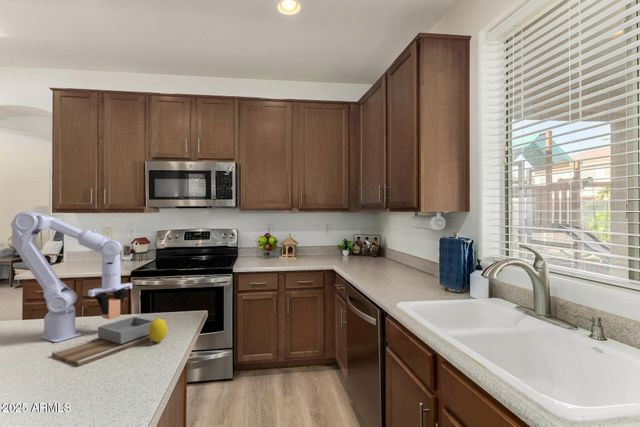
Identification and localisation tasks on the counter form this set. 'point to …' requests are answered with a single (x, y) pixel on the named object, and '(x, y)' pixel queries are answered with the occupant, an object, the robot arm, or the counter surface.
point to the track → (94, 350)
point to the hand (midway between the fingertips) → (111, 312)
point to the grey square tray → (125, 329)
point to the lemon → (157, 330)
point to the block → (113, 309)
